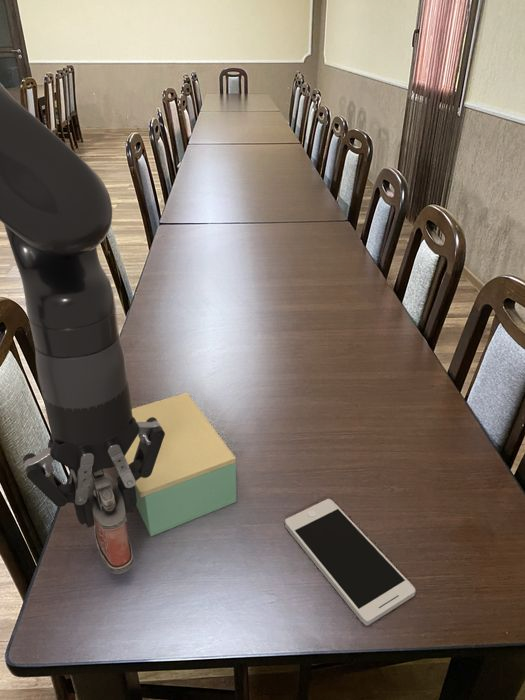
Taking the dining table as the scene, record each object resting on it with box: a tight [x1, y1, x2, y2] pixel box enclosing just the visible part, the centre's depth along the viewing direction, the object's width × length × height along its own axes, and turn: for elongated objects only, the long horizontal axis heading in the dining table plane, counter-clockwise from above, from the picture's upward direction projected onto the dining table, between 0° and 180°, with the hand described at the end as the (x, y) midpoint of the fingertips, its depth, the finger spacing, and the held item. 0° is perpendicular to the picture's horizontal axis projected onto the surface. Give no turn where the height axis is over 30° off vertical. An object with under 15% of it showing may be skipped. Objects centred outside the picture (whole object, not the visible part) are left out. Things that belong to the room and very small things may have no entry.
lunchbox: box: [135, 462, 237, 537], centre depth 71 cm, size 12×16×7 cm
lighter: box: [88, 469, 134, 575], centre depth 58 cm, size 8×3×10 cm, turn 29°
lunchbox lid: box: [125, 392, 237, 497], centre depth 69 cm, size 12×16×1 cm
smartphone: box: [284, 498, 416, 627], centre depth 62 cm, size 7×16×1 cm, turn 31°
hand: (108, 513), depth 57 cm, fingers closed on lighter, 3 cm apart
